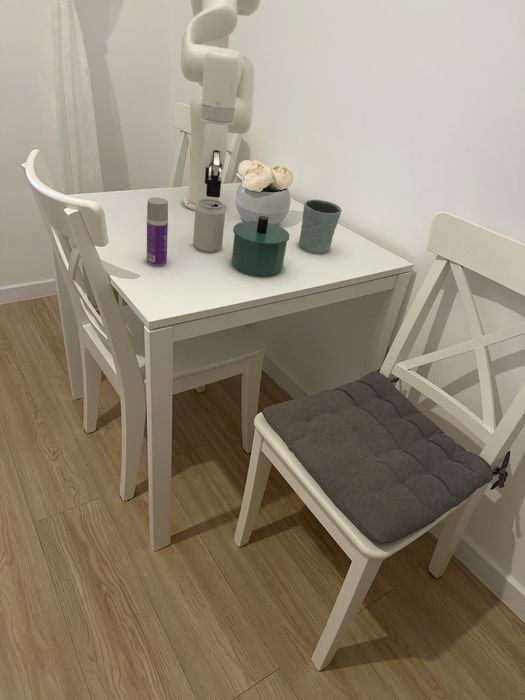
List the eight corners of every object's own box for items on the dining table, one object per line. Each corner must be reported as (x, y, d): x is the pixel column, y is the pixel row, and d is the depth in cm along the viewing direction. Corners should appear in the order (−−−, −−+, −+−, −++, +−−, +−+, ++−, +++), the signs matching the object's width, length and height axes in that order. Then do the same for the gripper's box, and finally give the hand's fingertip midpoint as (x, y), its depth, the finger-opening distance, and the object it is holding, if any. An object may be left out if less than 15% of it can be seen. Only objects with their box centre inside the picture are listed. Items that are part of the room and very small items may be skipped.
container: (167, 266, 120) (169, 204, 112) (147, 266, 119) (148, 204, 110) (165, 258, 124) (166, 197, 115) (145, 258, 122) (145, 196, 114)
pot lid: (235, 245, 116) (237, 226, 114) (230, 223, 127) (232, 205, 125) (293, 249, 119) (296, 230, 116) (283, 227, 130) (286, 210, 127)
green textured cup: (306, 237, 147) (314, 196, 141) (337, 248, 144) (347, 207, 137) (290, 247, 140) (297, 204, 133) (323, 259, 136) (332, 215, 130)
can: (217, 255, 129) (221, 209, 122) (189, 249, 130) (191, 203, 123) (225, 245, 135) (229, 200, 128) (198, 239, 136) (200, 195, 129)
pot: (233, 275, 121) (237, 242, 116) (230, 253, 131) (233, 221, 126) (285, 278, 123) (291, 246, 119) (277, 256, 133) (282, 225, 129)
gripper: (200, 105, 121) (195, 178, 130) (202, 119, 107) (197, 200, 116) (231, 109, 122) (224, 181, 131) (237, 124, 108) (230, 203, 117)
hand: (212, 190), depth 124 cm, fingers open, 9 cm apart
